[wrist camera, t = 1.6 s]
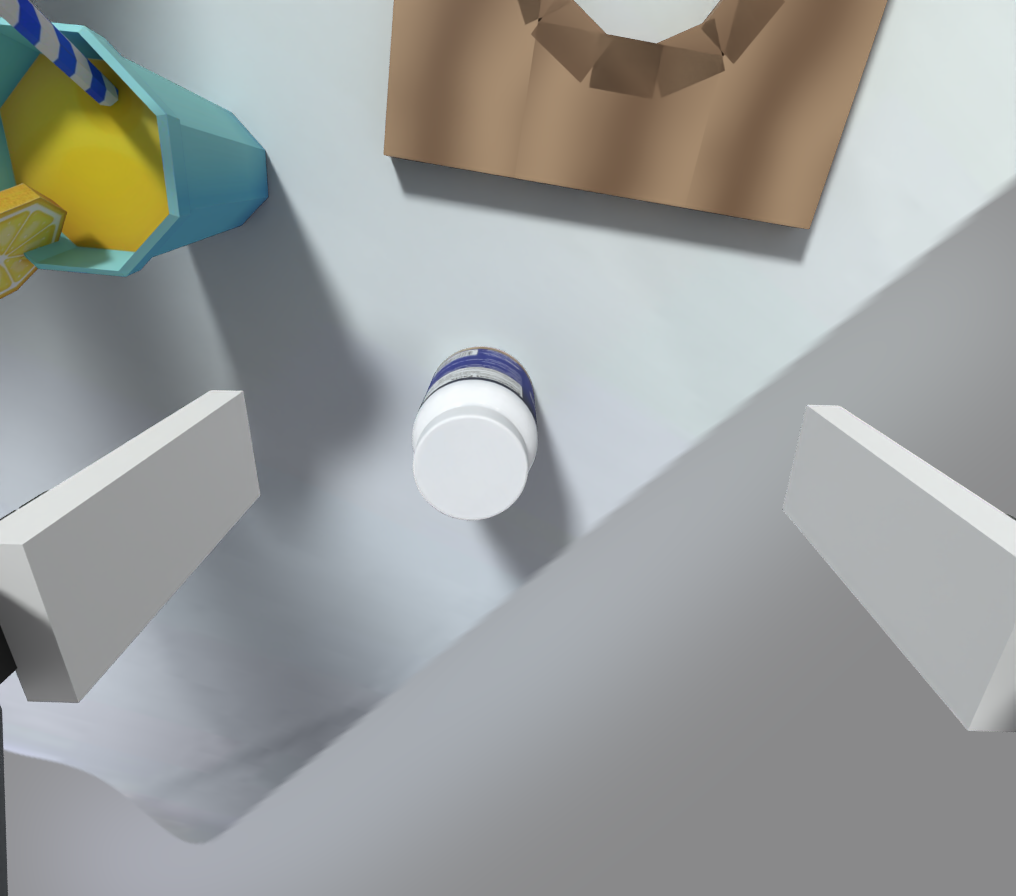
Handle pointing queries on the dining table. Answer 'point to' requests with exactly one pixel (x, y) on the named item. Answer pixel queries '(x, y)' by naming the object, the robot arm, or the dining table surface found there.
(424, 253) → the dining table surface
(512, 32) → the socket
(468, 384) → the pill bottle
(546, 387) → the dining table surface
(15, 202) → the cup
